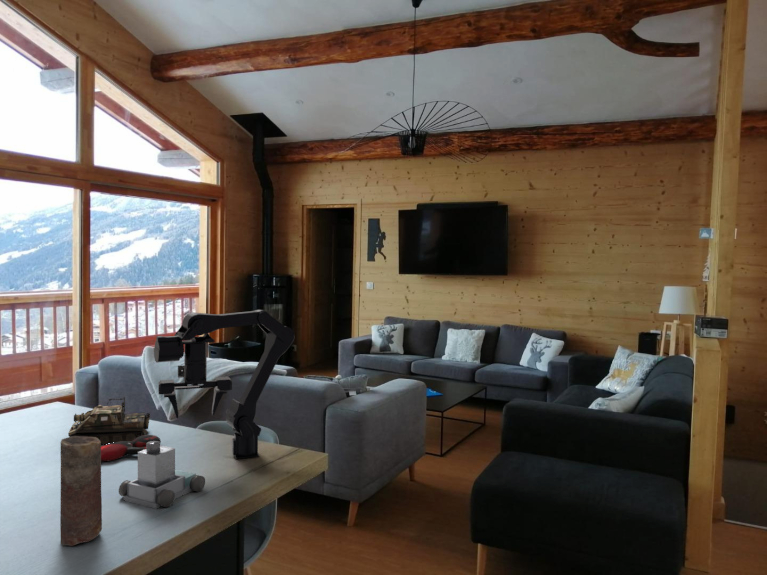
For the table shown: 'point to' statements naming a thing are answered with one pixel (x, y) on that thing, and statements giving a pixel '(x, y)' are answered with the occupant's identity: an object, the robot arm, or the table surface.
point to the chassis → (161, 490)
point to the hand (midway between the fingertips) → (195, 416)
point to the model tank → (110, 424)
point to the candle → (80, 490)
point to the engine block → (156, 465)
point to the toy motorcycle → (126, 447)
